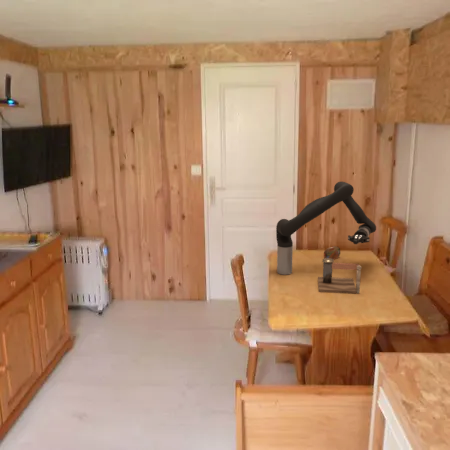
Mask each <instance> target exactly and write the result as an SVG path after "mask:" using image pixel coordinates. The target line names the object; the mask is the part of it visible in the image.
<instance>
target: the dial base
mask: <svg viewBox="0 0 450 450" xmlns="http://www.w3.org/2000/svg"><path fill="white" fill-rule="evenodd" d="M356 268H357V270H356V277H355V278H356V281H354V278H352V277H333V276H332V282H331V283H324V282H323V276H317V285H318V288H317V289H318V292H319V293H333V294H334V293H335V294H350V295H351V294H354V295H355V294H360V288H361V287H360V286H361V272H362V266H361V265H360V264H359V265H358V266H357V267H356Z"/></svg>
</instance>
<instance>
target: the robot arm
mask: <svg viewBox="0 0 450 450" xmlns="http://www.w3.org/2000/svg"><path fill="white" fill-rule="evenodd" d="M333 190H334V191H333V192H331V193H330V194H328V195H326V196H322V197H319V198H316V199H314V200H313V201H310V203H308V204H307V205H305V206H304V207H303V208H302V210H301V211H300V212H299V214H297V215H296V216H295V217H293V218H291V219H287V218H281V219H280V220H278V222H277V223H276V227H275V228H276V231H275V232H276V233H275V234H276V238H275V239H276V244H277V246H276V247H277V249H276V250H277V253H276V254H277V257H276V263H277V264H276V273H277V274H279V275H285V276H287V275H291V274H293V254H294V253H293V248H294V247H293V246H294V245H293V243H294V242H293V239H292V235H293V234H295V232H297V231H298V230H300V228H302V227H303V226H305V225H306V224H308V223H310V222H311V221H312V220H314V219H316V218H317V217H319V216H321V215H322V214H324V213H325V212H326V211H328V210H329V209H331V208H332V207H334V206H335V205H337V204H339V203H341V202H342V203H343V204H344V205H345V207H346V208H347V209H348V211H349V212H350V213H351V215H352V217H353V219H354V221H355V222H356V223H357V224H358V225H359V226H358V227H357V228H358V229H357V230H356V231H355V232H354V234H353V235H347V240H348V241H349V242H351V243H353V244H354V245H358V244H364V243H370V240H371V239H370V235H371V234H372V233H374V232H376V230H377V226H376V223H375V222H373V221H372V220H371V219H370V218H369V217H368V216H367V214H366V213H365V211H364V209H362V207H361V206H360V205H359V204H358V203H357V201H356V200H355V199H354V198H353V196H352V195H353V193H354V187H353V185H352V184H351V183H348V182H346V181H338V182H336V183H335V184H334V186H333Z"/></svg>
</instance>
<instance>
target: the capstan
mask: <svg viewBox="0 0 450 450" xmlns="http://www.w3.org/2000/svg"><path fill="white" fill-rule="evenodd" d="M334 261H335V259H334V260H333V259H331V258H324V257H323V259H322V262H323V264H322V265H323V266H322V267H323V268H322V277H323V282H324V283H331V282H332V277H333V270H349V271H352V270H353V271H357V268H356V267H357V266H358V265H360V264H359V263H351V262H350V263H348V262H346V263H345V262H334Z"/></svg>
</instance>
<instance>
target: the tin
mask: <svg viewBox="0 0 450 450" xmlns="http://www.w3.org/2000/svg"><path fill="white" fill-rule="evenodd" d="M340 255H341V248H340V247H339V246H335V245H334V246H332V247H327V248H325V250H324V251H323V259H324V258H331V259H333V260H334V261H335V260H337V259H338V258H339V257H340Z"/></svg>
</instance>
